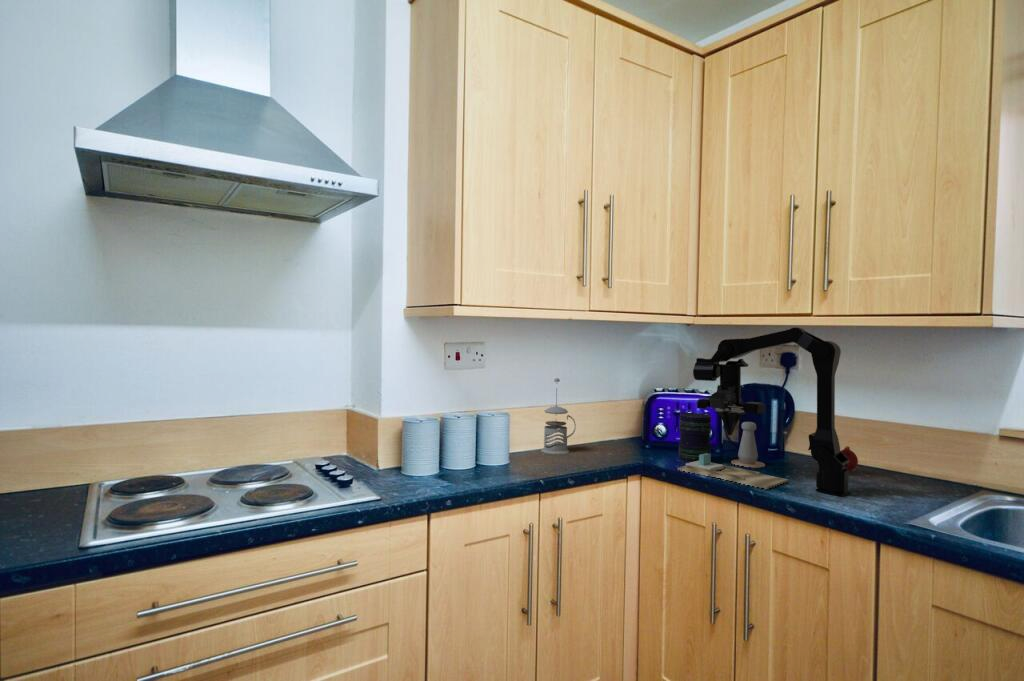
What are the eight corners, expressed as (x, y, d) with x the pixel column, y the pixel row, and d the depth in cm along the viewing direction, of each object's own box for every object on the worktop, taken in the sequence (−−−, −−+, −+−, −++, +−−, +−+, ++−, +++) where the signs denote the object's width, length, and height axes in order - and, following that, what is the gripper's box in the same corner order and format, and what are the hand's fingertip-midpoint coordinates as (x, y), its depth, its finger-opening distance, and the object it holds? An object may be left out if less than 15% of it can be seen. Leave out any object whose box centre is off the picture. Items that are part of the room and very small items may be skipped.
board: (788, 482, 162) (788, 476, 162) (767, 489, 153) (767, 483, 153) (700, 464, 182) (700, 459, 182) (677, 470, 173) (677, 464, 173)
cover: (723, 468, 173) (724, 455, 173) (709, 472, 168) (710, 458, 168) (699, 463, 179) (699, 450, 179) (685, 466, 174) (685, 453, 174)
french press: (541, 447, 203) (543, 376, 203) (574, 448, 202) (576, 377, 202) (540, 453, 194) (541, 378, 193) (575, 454, 192) (576, 379, 192)
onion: (856, 475, 171) (857, 449, 171) (834, 472, 175) (835, 446, 175) (858, 472, 176) (859, 446, 176) (837, 469, 179) (837, 443, 179)
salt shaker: (743, 465, 180) (744, 423, 180) (734, 461, 186) (735, 420, 186) (761, 465, 181) (762, 423, 181) (751, 461, 187) (752, 420, 187)
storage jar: (673, 460, 186) (674, 414, 186) (686, 456, 194) (687, 411, 194) (702, 466, 180) (704, 418, 180) (715, 461, 187) (716, 415, 187)
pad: (770, 465, 183) (770, 463, 183) (755, 469, 177) (755, 468, 177) (740, 459, 191) (740, 458, 191) (725, 463, 184) (725, 462, 184)
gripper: (687, 381, 171) (686, 433, 171) (748, 385, 157) (747, 442, 157) (706, 379, 179) (706, 430, 179) (766, 383, 165) (766, 438, 165)
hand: (729, 435), depth 170 cm, fingers closed
